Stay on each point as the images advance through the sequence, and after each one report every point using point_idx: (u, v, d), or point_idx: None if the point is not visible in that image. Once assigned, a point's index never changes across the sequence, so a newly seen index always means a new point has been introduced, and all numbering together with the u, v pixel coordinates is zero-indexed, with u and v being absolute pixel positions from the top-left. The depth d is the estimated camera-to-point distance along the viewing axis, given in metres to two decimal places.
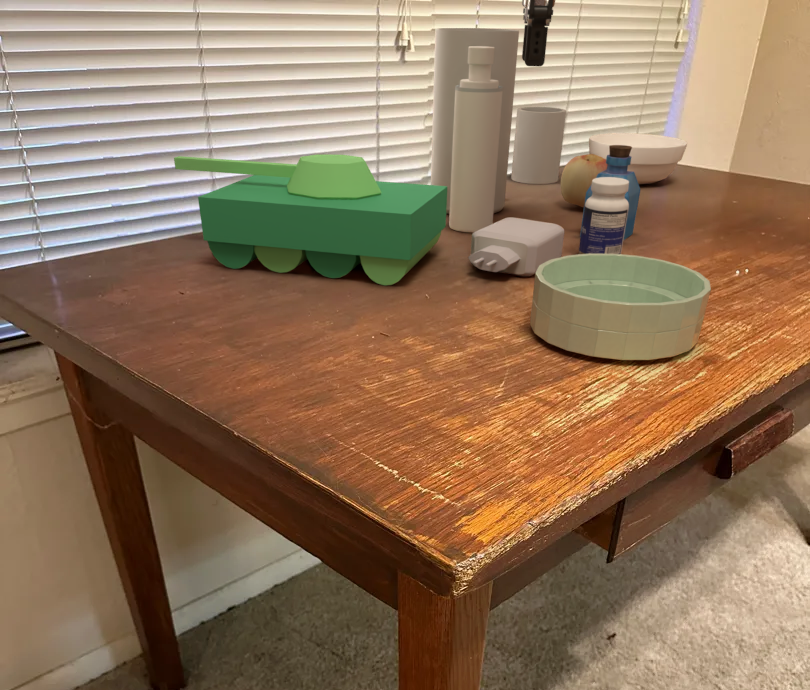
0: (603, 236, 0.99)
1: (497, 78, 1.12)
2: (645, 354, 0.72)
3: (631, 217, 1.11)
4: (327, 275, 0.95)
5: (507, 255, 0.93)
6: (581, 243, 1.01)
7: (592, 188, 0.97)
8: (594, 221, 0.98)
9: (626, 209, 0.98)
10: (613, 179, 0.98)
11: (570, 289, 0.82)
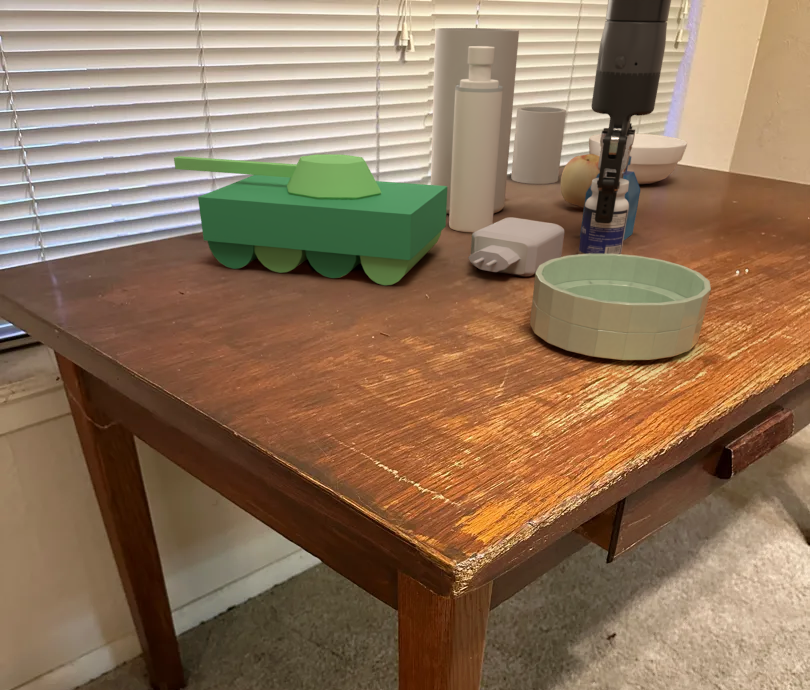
0: (603, 236, 0.99)
1: (497, 78, 1.12)
2: (645, 354, 0.72)
3: (631, 217, 1.11)
4: (327, 275, 0.95)
5: (507, 255, 0.93)
6: (581, 243, 1.01)
7: (592, 188, 0.97)
8: (594, 221, 0.98)
9: (626, 209, 0.98)
10: None
11: (570, 289, 0.82)
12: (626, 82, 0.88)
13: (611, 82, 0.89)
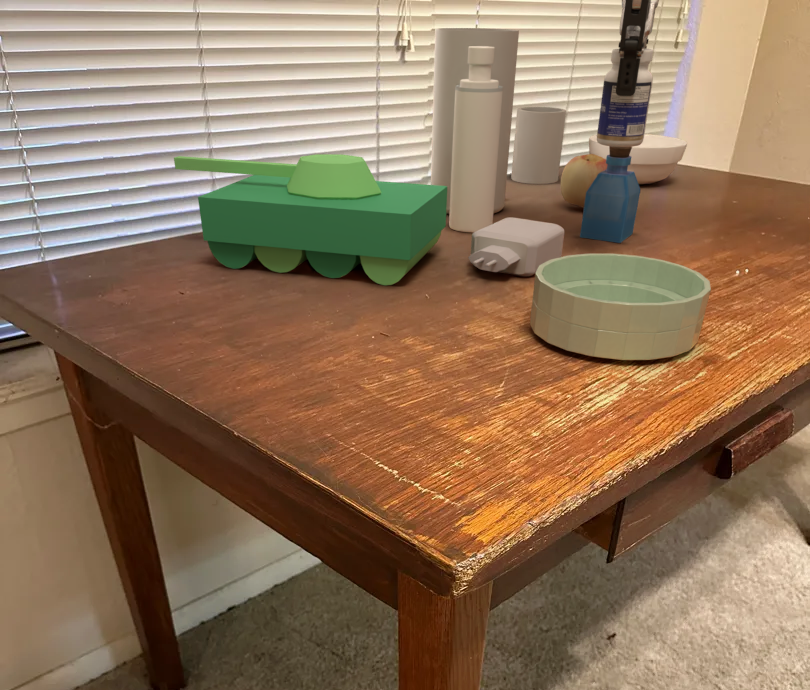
0: (625, 113, 0.90)
1: (497, 78, 1.12)
2: (645, 354, 0.72)
3: (631, 217, 1.11)
4: (327, 275, 0.95)
5: (507, 255, 0.93)
6: (600, 124, 0.92)
7: (612, 58, 0.89)
8: (614, 96, 0.89)
9: (650, 81, 0.89)
10: None
11: (570, 289, 0.82)
12: None
13: None
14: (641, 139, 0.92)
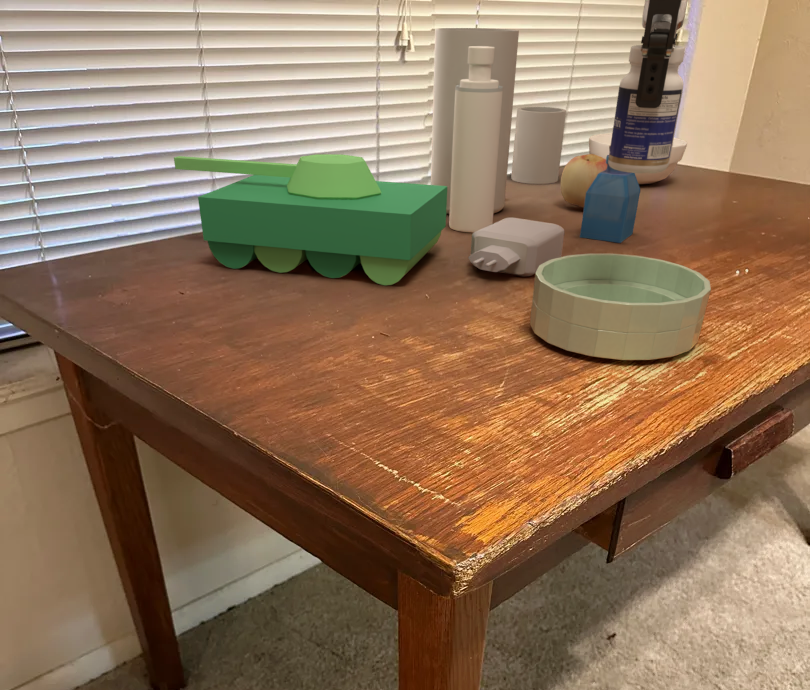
0: (646, 130, 0.68)
1: (497, 78, 1.12)
2: (645, 354, 0.72)
3: (631, 217, 1.11)
4: (327, 275, 0.95)
5: (507, 255, 0.93)
6: (613, 143, 0.71)
7: (631, 58, 0.67)
8: (633, 107, 0.68)
9: (680, 88, 0.67)
10: None
11: (570, 289, 0.82)
12: None
13: None
14: (666, 163, 0.71)
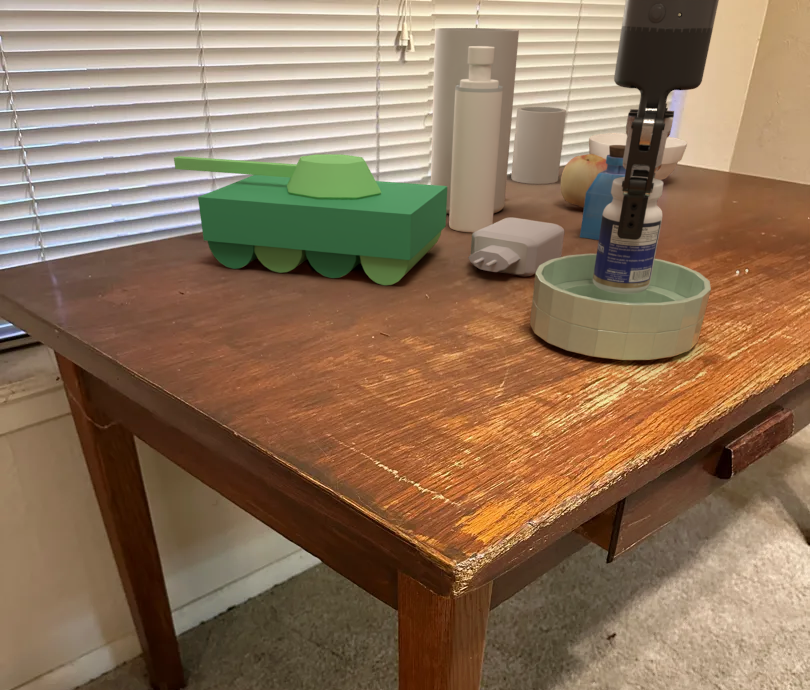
0: (628, 257, 0.73)
1: (497, 78, 1.12)
2: (645, 354, 0.72)
3: None
4: (327, 275, 0.95)
5: (507, 255, 0.93)
6: (597, 265, 0.75)
7: (613, 191, 0.72)
8: (615, 237, 0.72)
9: (659, 220, 0.72)
10: None
11: (570, 289, 0.82)
12: (665, 42, 0.62)
13: (644, 43, 0.63)
14: (647, 284, 0.75)
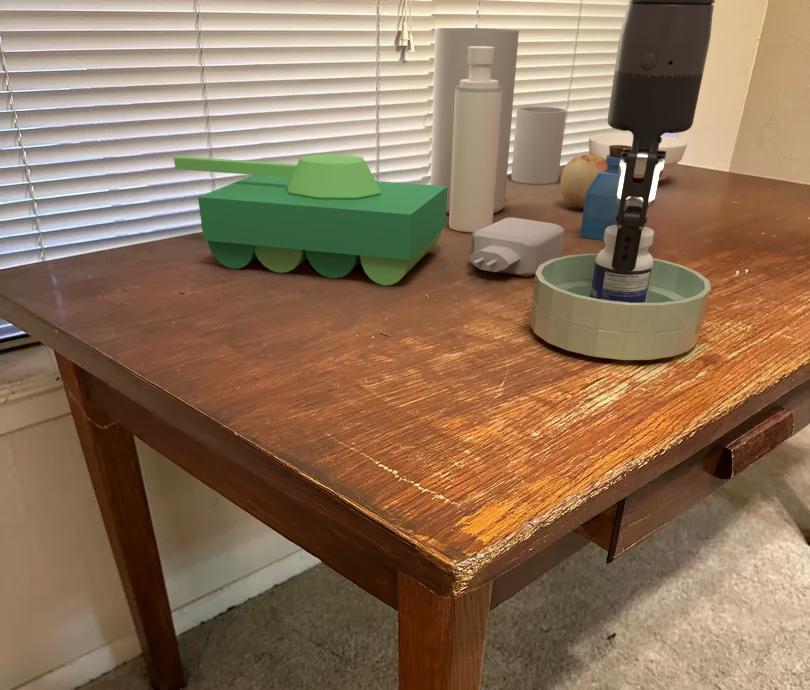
0: None
1: (497, 78, 1.12)
2: (645, 354, 0.72)
3: None
4: (327, 275, 0.95)
5: (507, 255, 0.93)
6: None
7: (605, 240, 0.74)
8: (607, 283, 0.75)
9: (650, 267, 0.74)
10: None
11: (570, 289, 0.82)
12: (656, 88, 0.64)
13: (636, 88, 0.65)
14: None
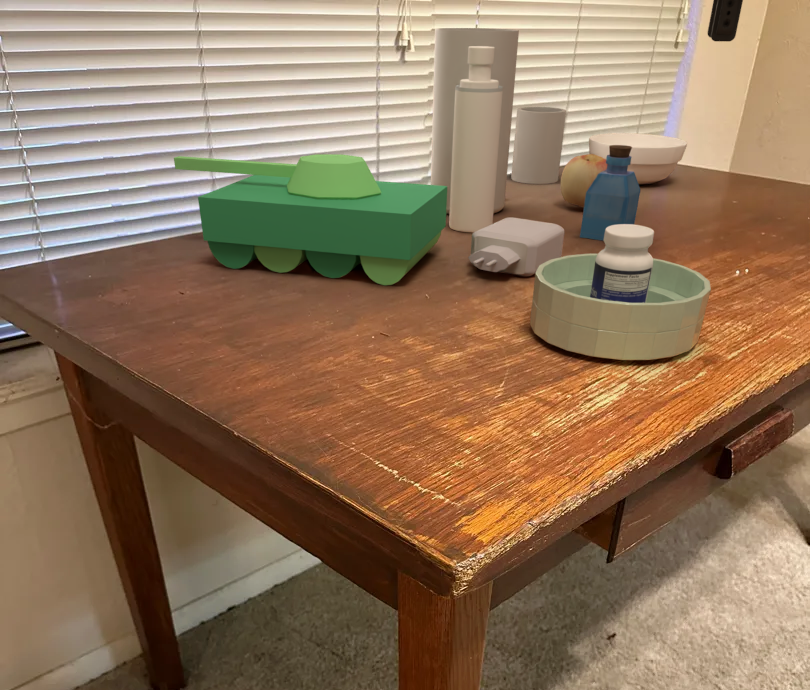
0: None
1: (497, 78, 1.12)
2: (645, 354, 0.72)
3: (631, 217, 1.11)
4: (327, 275, 0.95)
5: (507, 255, 0.93)
6: None
7: (605, 240, 0.74)
8: (607, 283, 0.75)
9: (650, 267, 0.74)
10: (633, 228, 0.74)
11: (570, 289, 0.82)
12: None
13: None
14: None
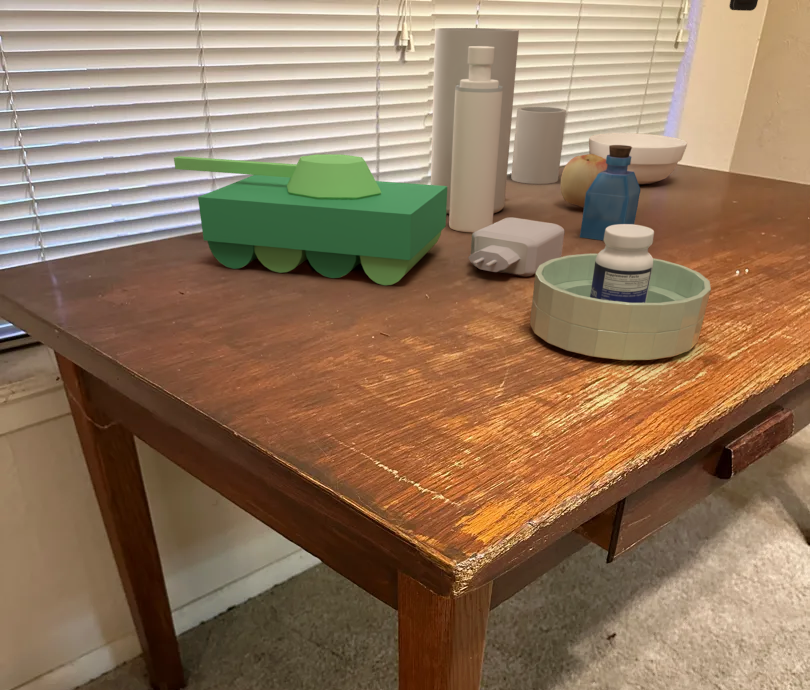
0: None
1: (497, 78, 1.12)
2: (645, 354, 0.72)
3: (631, 217, 1.11)
4: (327, 275, 0.95)
5: (507, 255, 0.93)
6: None
7: (605, 240, 0.74)
8: (607, 283, 0.75)
9: (650, 267, 0.74)
10: (633, 228, 0.74)
11: (570, 289, 0.82)
12: None
13: None
14: None
